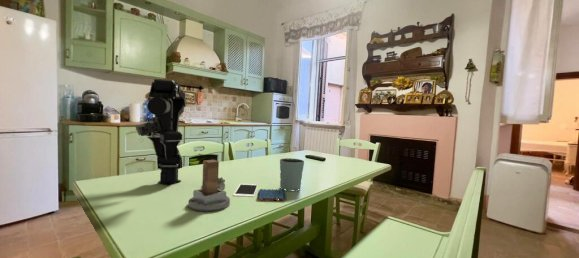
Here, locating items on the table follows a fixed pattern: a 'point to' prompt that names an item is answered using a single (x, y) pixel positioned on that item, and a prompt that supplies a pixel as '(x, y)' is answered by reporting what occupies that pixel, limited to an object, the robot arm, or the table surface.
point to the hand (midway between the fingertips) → (162, 157)
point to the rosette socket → (208, 201)
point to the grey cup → (291, 173)
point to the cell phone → (246, 190)
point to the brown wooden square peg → (210, 177)
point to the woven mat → (271, 194)
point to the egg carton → (221, 183)
